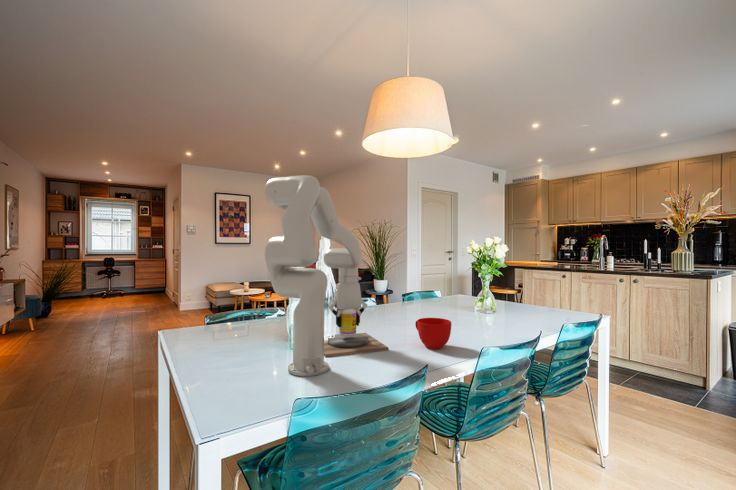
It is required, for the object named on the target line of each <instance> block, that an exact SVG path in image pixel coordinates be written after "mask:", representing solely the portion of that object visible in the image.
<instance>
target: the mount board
mask: <svg viewBox="0 0 736 490" xmlns="http://www.w3.org/2000/svg"><path fill="white" fill-rule="evenodd" d="M334 335H335V337H334V338H328V342H325V343H324V358H332V357H340V356H350V355H357V354H368V353H377V352H385V351H389V349H390V348H389V347H388V346H387V345H386V344H384V343H383V342H380V341H379V340H378V339H376V338H375V337H373V336H371V335H370V334H368V333H367V332H359V333H356V335H354V336H349V337H346V336H341V335H340V334H339V333H338V334H334Z"/></svg>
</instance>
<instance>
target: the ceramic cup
mask: <svg viewBox="0 0 736 490" xmlns="http://www.w3.org/2000/svg"><path fill="white" fill-rule="evenodd" d="M414 323H415V328H416V330H417V333H418V337H419V339H420V341H421V342H422V344H423V345H424V346H425V348H427V349H430V350H441V349H443V348H444V347H445V346H446V345H447V343H448V341H449V339H450V337H451V333H452V321H451V320H449V319H446V318H441V317H422V318H418V319H417V320H416V321H415V322H414Z"/></svg>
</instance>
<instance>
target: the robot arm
mask: <svg viewBox="0 0 736 490" xmlns="http://www.w3.org/2000/svg"><path fill="white" fill-rule="evenodd" d="M320 185H321V184H320V182H319V180H318V178H317V177H314V176H313V175H306V174H305V175H303V174H302V175H301V174H300V175H289V176H279V177H273V178H270V179H269V180H268V181H267V182H266V184H265V186H264V197H265V198H266V200H267V201H268V203H269V204H271V205H272V206H274V207H276V208H279V209H282V210H284V213H283V215H282V217H281V221H280V222H281V223H280V225H281V231H282V235H278V236H273V237H271V238H270V239H269V240H268V241H267V242H266V245H265V248H264V259H265V264H266V268H267V271H268V274H269V279H270V283H271V285H272V288H273V291H274V293H275V294H276V295H277V296H279V297H281V298H282V297H283V298H289V299H290V298H291V299H292V298H293V299H300V300H299V302H298V303H297V305H296V307H295V308H294V310H293V315H292V317H293V318H292V319H293V320H292V323H293V324H292V325H293V327H292V330H293V331H292V336H293V337H292V341H293V342H292V362H291V363H289V365H288V366H287V372H288V373H289V374H291V375H293V376H298V377H299V376H300V377H313V376H317V375H321V374H324V373H326V372H328V370H329V368H330V367H329V366H330V365H329V363H328V362H327V361H325V356H324V336H325V301H326V295H327V290H328V289H327V288H328V277H327V275H326V273H325V272H324V271H322V270H321V269H318V268H312V267H311V266H312V265H314V264H315V263H316V261H317V248H316V243H315V239H314V233H313V229H312V223H313V225H314V228H315V231H316V233H317V234H318V235H319V236H321V237H323V238H325V239H327V240H329V241H333V242H335V243H338V244H340V245H341V246H343V247H333V248H328V249H327V250H326V251H325V252H324V254H323V262H324V265H326V266H327V267H328V268H330V269H338V283H336V285H335V290H334V291H335V292H334V298H333V299H334V300H333V301H332V302H331V303H330V304H329V305H328V307H327V308H328V309H329V310H330V311H331V313H332V314H333V315H334V316H335V324H336V326H337V327H338V328H339V327H341V317H340V314H341V312H342V310H345V309H356V327H358V326H360V323H361V316H362V314H363V312H364V311H365V310H366V308H367V307H368V304H367V303H366V302H365V301H364V300H363V299H362V292H361V286H360V283H359V281H361V280H362V277H361V276H359V274H358V273H359V268H360V267H361V266H362V263H363V253H362V248H361V245H360V242H359V241H358V240H359V239H358V238H357V237H356V236H355V234H354V233H352V232H351V231H350V230H349V228H347V227H345V226H344V225H343V224H341V223H340V220H339V217H338V214H337V212H336V208H335V206H334V203H333V200H332V198H331V194H330V193H329V192H330V191H329V190H328V189H326V188H325V187H322V186H320ZM311 221H312V223H311ZM336 289H337V291H336ZM334 307H335V308H334ZM335 309H336V310H335Z"/></svg>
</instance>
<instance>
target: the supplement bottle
mask: <svg viewBox="0 0 736 490" xmlns="http://www.w3.org/2000/svg"><path fill="white" fill-rule="evenodd" d="M340 317H341V327H338V329H339V331H338V332H339V333H338V334H340V335H341V336H346V337H349V336H354V335H356V334H357V325H356V309H345V310H342V312H341V314H340Z"/></svg>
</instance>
